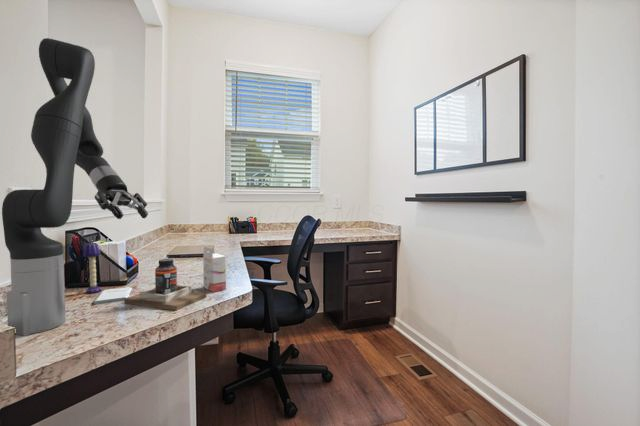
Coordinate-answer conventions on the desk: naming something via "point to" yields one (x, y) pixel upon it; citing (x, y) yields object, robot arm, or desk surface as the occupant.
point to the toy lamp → (92, 266)
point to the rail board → (167, 298)
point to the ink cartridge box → (214, 270)
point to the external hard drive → (113, 295)
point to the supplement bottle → (165, 277)
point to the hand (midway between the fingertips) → (133, 216)
